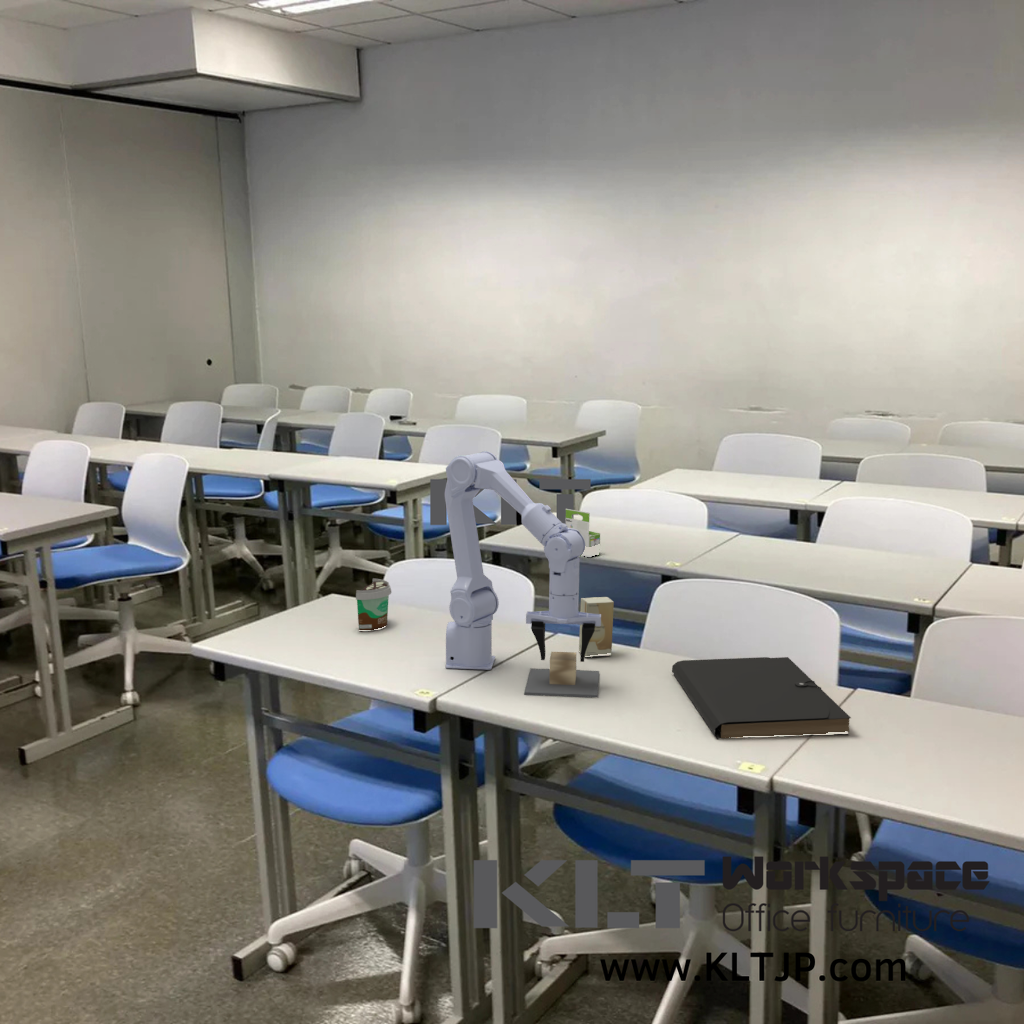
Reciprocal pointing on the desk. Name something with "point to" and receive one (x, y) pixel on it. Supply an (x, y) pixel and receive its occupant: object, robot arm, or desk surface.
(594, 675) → the charcoal mat
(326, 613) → the desk surface
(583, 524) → the ink box
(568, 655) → the maple cube
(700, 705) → the file folder
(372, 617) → the food container
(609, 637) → the skincare box
